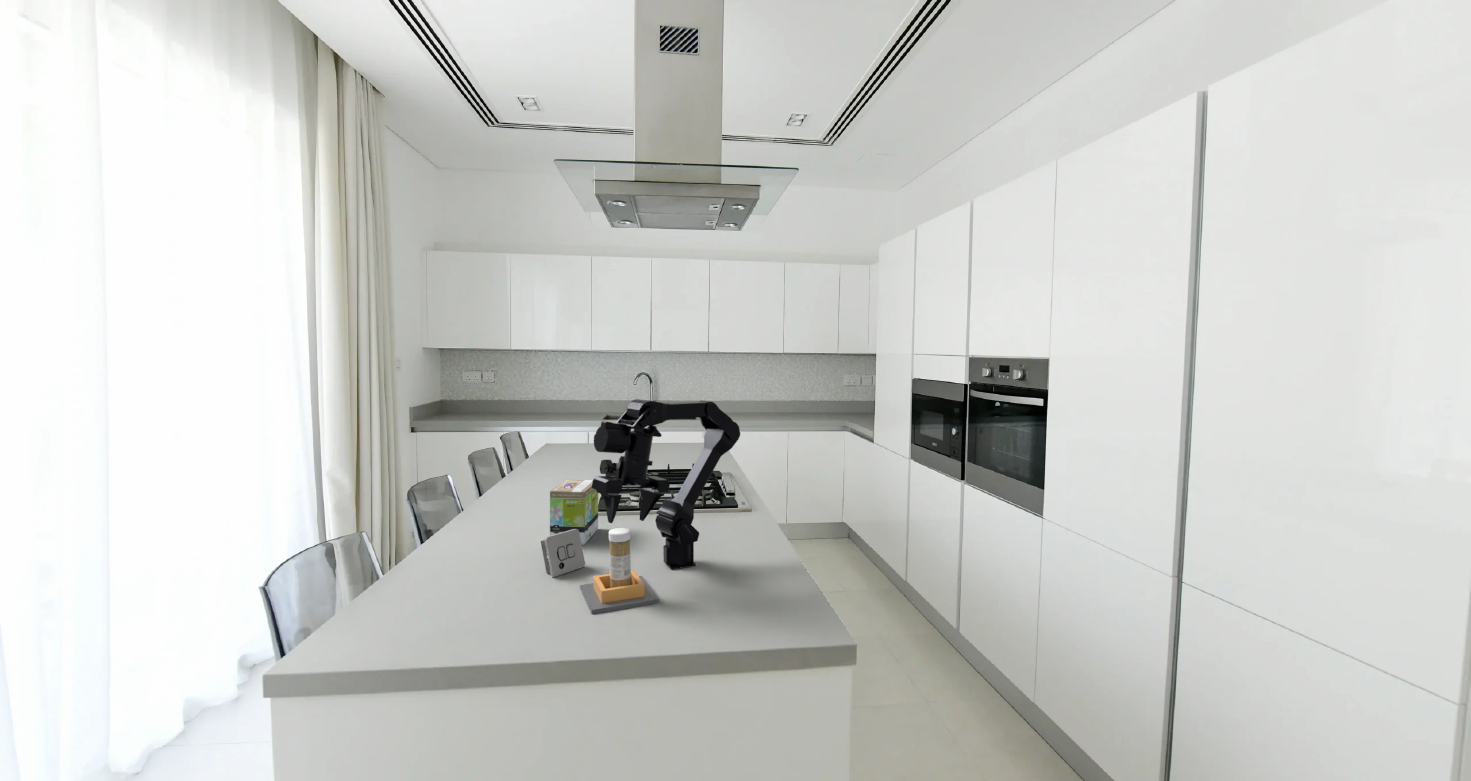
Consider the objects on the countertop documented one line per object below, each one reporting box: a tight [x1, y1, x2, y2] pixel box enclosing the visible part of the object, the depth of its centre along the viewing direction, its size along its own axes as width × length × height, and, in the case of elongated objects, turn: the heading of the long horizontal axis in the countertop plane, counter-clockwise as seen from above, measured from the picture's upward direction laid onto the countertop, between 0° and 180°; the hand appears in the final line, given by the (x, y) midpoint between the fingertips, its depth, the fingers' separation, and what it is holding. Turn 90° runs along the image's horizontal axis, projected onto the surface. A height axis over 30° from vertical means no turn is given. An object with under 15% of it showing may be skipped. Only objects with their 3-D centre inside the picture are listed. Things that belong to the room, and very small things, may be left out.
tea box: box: [549, 479, 599, 546], centre depth 174 cm, size 15×10×15 cm
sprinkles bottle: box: [608, 527, 632, 588], centre depth 134 cm, size 5×5×14 cm
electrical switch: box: [540, 529, 586, 578], centre depth 149 cm, size 9×5×9 cm, turn 141°
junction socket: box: [579, 570, 660, 615], centre depth 134 cm, size 14×14×3 cm
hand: (626, 521), depth 144 cm, fingers open, 9 cm apart
